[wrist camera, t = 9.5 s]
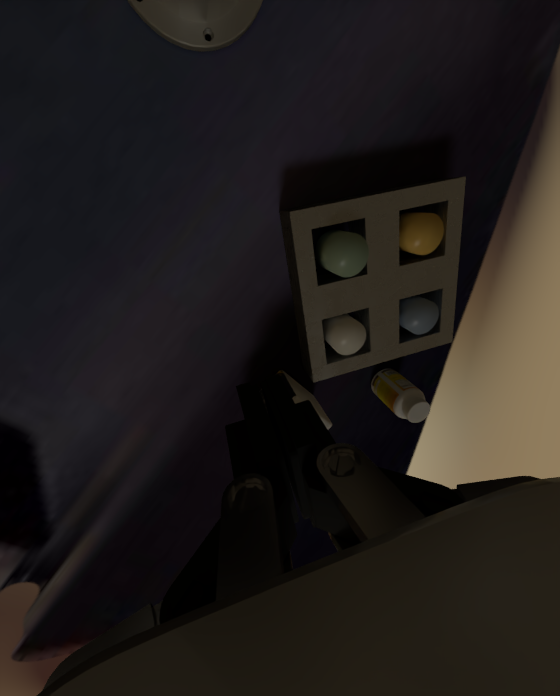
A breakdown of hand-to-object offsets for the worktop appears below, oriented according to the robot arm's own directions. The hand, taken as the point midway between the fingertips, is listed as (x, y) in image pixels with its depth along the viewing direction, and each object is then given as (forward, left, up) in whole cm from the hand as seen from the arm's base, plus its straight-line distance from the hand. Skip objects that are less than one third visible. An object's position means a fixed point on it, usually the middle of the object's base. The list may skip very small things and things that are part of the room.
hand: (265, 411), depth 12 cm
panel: (+5, +18, -27) cm, 33 cm away
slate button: (+10, +23, -26) cm, 37 cm away
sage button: (0, +14, -25) cm, 28 cm away
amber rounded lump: (0, +23, -26) cm, 35 cm away
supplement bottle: (+21, +20, -27) cm, 40 cm away
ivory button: (+10, +13, -26) cm, 31 cm away
